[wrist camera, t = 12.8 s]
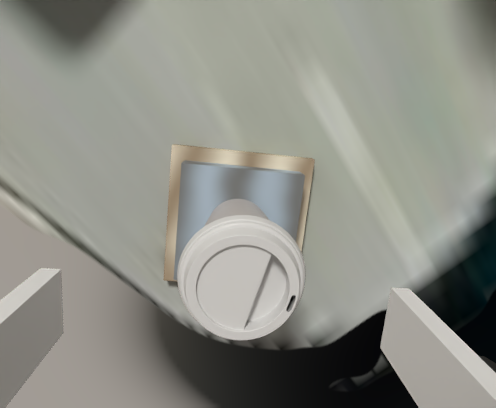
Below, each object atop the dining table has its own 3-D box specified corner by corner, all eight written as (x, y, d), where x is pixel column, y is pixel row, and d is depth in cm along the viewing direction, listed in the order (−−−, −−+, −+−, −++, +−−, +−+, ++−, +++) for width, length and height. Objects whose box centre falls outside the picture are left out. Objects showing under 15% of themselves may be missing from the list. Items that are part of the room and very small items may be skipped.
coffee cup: (241, 285, 42) (249, 374, 27) (174, 232, 40) (144, 297, 26) (299, 223, 41) (339, 281, 26) (233, 165, 39) (236, 193, 24)
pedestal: (311, 158, 44) (321, 162, 39) (293, 284, 47) (300, 301, 43) (173, 144, 43) (167, 147, 38) (165, 275, 46) (159, 291, 42)
